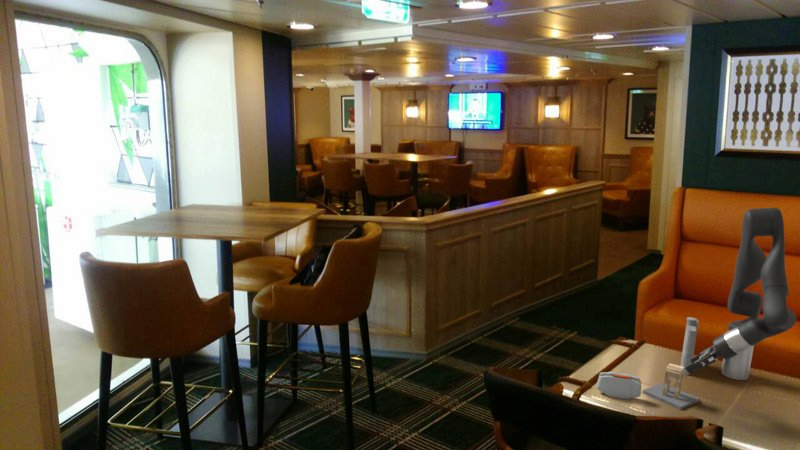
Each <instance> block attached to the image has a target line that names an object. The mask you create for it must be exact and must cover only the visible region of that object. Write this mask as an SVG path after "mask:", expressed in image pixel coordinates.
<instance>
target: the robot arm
mask: <svg viewBox="0 0 800 450" xmlns="http://www.w3.org/2000/svg"><path fill="white" fill-rule="evenodd" d="M757 237H758V238H759V237H772V244H771V248H770V251H769V253H768V255H766V253H765V252H764V251H763V249H762V248H761V247H760V246H759V244H757V242H756V241H755V238H757ZM785 247H786V246H785V221H784V217H783V213H782V210H780V209H779V208H778V207H761V208H759V207H758V208H750V209H747V210H746V211H745V212H744V214H743V217H742V227H741V240H740V245H739V250H738V255H737V258H736V263H735V268H734V269H735V270H734V277H733V280H732V284H731V289H730V292H729V296H728V299H727V310H728V311H729V312H730V313H731V314H734V315H735V314H736V315H738V316H739V315H740V316H745V317H747V318H745V319H741V320H734V321H731V322H729V324H728V325H727V326H728V327H727V331H726V332H724V333H723V334H721V335H719V336H717V337H715V338H714V339H713V340H712V344H713V345H711V346H709V347H707V348H705V349H703V350H702V351H701V352H700V353H699V354H698V355H696V356H693V358H692V359H691V362H692V364H691V365H689V366H687V367H686V370H687V371H688V373H690V374H691V373H693V372H695V371H697V370H698V369H699V370H703V369H704V368H706V367H708V366H710V365H712V364H714V363H716V362H717V361H718V360H719V358H720V357H722V364H721V372H720V373H721V374H722V375H723V376H725V377H726V378H729V379H732V380H737V381H746V380H748V379H749V375H750V371H751V365H752V364H751V363H752V359H753V352H754V347H755V345H756V344H759V343H761V342H762V341H764V340H766V339H768V338H771V337H774V336H777V335H780V334H782V333H784V332H787V331H789V330H790V329H792V328H793V327H794V326H795V325H796V323H797V316H796V314H795V312H794V311H793V310H791V309H790V308H788V304H787V297H789V295H790V294H789V293H790V290H789V285H788V279H787V273H786V272H787V271H786V259H785V258H786V254H785V253H786V248H785ZM760 281H761V289H762V292H763V297H762V294H761V293H760V292H757V291H750V290H746V289H747V288H749V287H751V286H753V285H754V284H756V283H758V282H760ZM761 309H762V310H761ZM761 311H762V314H763V317H760V313H761ZM701 363H702V364H701Z"/></svg>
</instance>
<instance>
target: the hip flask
mask: <svg viewBox="0 0 800 450" xmlns="http://www.w3.org/2000/svg"><path fill="white" fill-rule="evenodd" d="M698 329H699V319H697V318H696V317H691V316H689V317H688V316H687V317H686V325H685V330H684V331H685V332H684V339H683V345H682V352H681V360H680V364H679V366H682V367H684V371H683V375H684V376H689V375H691V373H688V371H687V370H686V367H687V366H689V365H691V364H692V362H691V359H692V358H694V355H695V354H694V353H695V349H696V341H697V335H698V334H697V333H698Z"/></svg>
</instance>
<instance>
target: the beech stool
mask: <svg viewBox="0 0 800 450" xmlns="http://www.w3.org/2000/svg"><path fill="white" fill-rule="evenodd" d="M683 371H684V367H682V366H680V365H678V364H674V363H669V364H668V365H667V366H666V369H665V375H664V382H663V383H664V388H663V395H665V396H666V395H667V392H669V388H670V386H671V382H673V383H675V385H674V386H675V387H674V388H675V392H674V398H676V399H678V395H680V391H682V383H683V375H684V374H683Z"/></svg>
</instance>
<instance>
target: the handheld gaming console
mask: <svg viewBox="0 0 800 450" xmlns="http://www.w3.org/2000/svg"><path fill="white" fill-rule="evenodd" d="M597 378H598V379H597V382H596V390H598V391H599V392H601V393H603V394H605V395H606V396H609V397H612V398H619V399H623V400H624V399H626V400H627V399H629V400H630V399H632V398H633V399H634V398H640V397H641V395H642V382H641V378H640V377H639V376H638V377H637V376H634V375H632V374H628V373H620V372H615V371H608V372H607V371H605V372H599V375H598V377H597Z"/></svg>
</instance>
